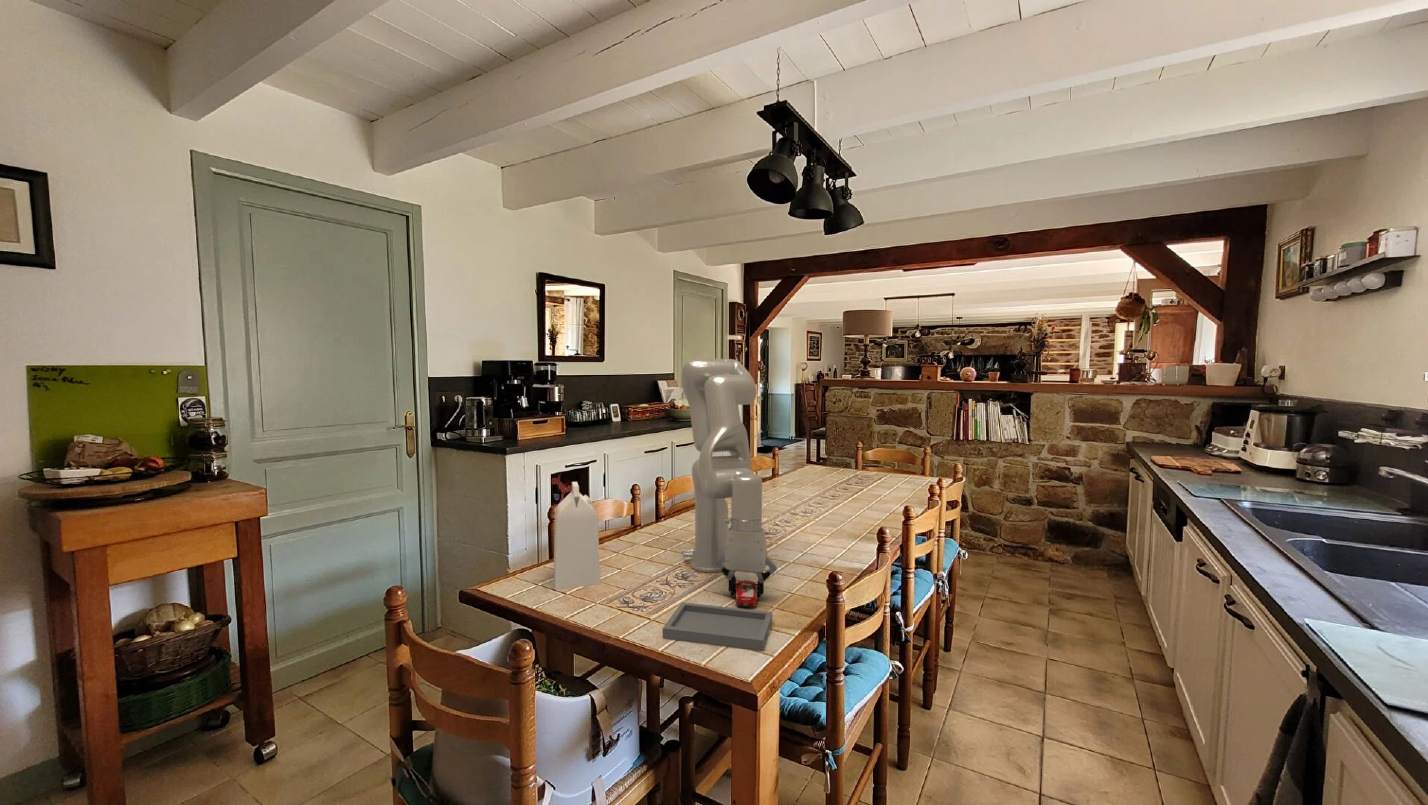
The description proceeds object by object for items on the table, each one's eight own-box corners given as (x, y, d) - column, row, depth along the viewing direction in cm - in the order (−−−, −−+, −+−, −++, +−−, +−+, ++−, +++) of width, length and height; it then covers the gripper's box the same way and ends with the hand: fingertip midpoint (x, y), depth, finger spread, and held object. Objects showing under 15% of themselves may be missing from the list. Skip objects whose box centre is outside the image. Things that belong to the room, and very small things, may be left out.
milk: (553, 573, 154) (552, 480, 152) (595, 568, 158) (594, 478, 156) (555, 589, 143) (553, 490, 141) (600, 584, 146) (599, 487, 145)
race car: (736, 587, 144) (736, 572, 144) (756, 588, 144) (757, 573, 144) (733, 609, 131) (734, 592, 131) (756, 610, 131) (757, 593, 131)
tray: (662, 638, 117) (662, 628, 117) (681, 611, 130) (681, 602, 130) (762, 651, 112) (763, 640, 112) (772, 621, 125) (772, 612, 125)
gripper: (708, 525, 135) (708, 597, 136) (779, 530, 131) (778, 605, 132) (716, 517, 142) (716, 586, 143) (783, 522, 138) (782, 593, 139)
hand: (746, 594), depth 138 cm, fingers closed on race car, 5 cm apart
